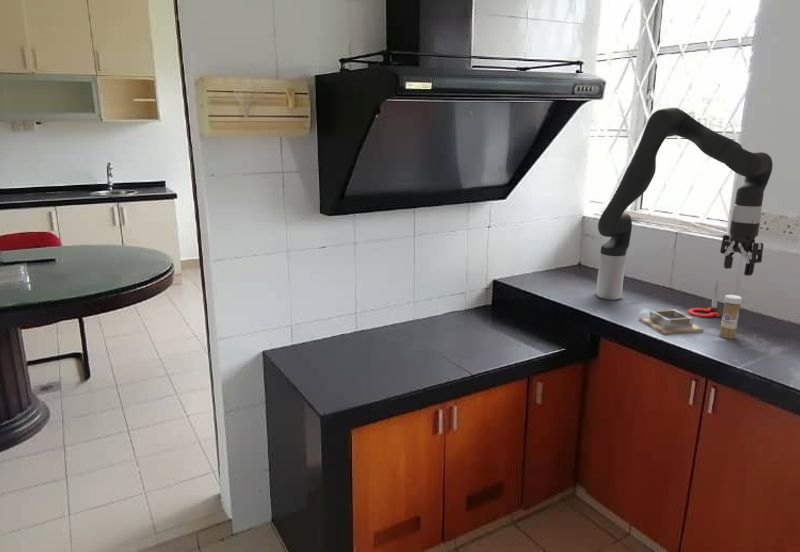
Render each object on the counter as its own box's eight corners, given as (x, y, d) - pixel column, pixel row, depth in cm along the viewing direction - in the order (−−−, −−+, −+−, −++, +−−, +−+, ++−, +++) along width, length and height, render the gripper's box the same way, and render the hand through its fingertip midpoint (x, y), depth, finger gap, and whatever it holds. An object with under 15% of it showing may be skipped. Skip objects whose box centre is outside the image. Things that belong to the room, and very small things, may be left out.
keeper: (639, 320, 198) (640, 309, 197) (675, 317, 201) (677, 306, 200) (663, 334, 185) (665, 323, 184) (702, 331, 187) (704, 320, 186)
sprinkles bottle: (717, 336, 183) (723, 296, 180) (721, 332, 187) (727, 293, 183) (733, 340, 180) (740, 299, 177) (736, 336, 184) (743, 296, 180)
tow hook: (694, 318, 201) (721, 318, 200) (697, 283, 198) (724, 282, 197) (683, 311, 209) (710, 310, 209) (686, 277, 206) (713, 276, 205)
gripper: (718, 216, 180) (710, 266, 184) (752, 224, 166) (744, 278, 171) (739, 215, 181) (731, 265, 185) (775, 223, 168) (766, 277, 172)
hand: (737, 271), depth 178 cm, fingers open, 8 cm apart
